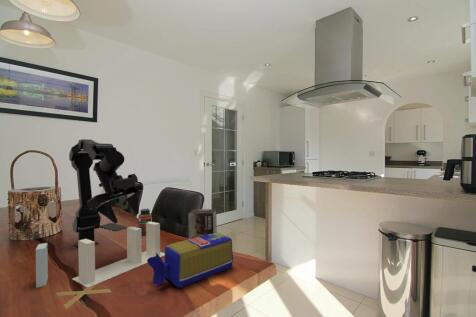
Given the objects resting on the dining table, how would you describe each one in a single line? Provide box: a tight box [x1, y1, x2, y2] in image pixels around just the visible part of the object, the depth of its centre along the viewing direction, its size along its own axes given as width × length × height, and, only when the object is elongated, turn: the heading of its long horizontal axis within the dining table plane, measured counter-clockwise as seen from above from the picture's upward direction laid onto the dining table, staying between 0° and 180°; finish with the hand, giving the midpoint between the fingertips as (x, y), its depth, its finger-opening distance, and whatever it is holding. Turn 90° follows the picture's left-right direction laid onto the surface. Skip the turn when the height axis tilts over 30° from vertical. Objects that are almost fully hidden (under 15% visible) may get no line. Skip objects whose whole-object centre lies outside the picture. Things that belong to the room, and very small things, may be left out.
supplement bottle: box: [137, 208, 153, 236], centre depth 116 cm, size 6×6×11 cm
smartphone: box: [99, 222, 129, 232], centre depth 127 cm, size 7×1×15 cm
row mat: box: [71, 250, 165, 288], centre depth 80 cm, size 9×27×1 cm, turn 147°
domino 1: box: [35, 242, 49, 289], centre depth 69 cm, size 2×5×11 cm, turn 32°
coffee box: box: [187, 208, 218, 239], centre depth 89 cm, size 9×6×16 cm
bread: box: [147, 232, 234, 289], centre depth 75 cm, size 10×25×10 cm, turn 131°
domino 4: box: [145, 221, 161, 256], centre depth 89 cm, size 2×5×11 cm, turn 57°
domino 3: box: [126, 226, 143, 264], centre depth 83 cm, size 2×5×11 cm, turn 57°
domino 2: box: [77, 239, 96, 284], centre depth 71 cm, size 2×5×11 cm, turn 57°
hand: (127, 218), depth 84 cm, fingers open, 9 cm apart
